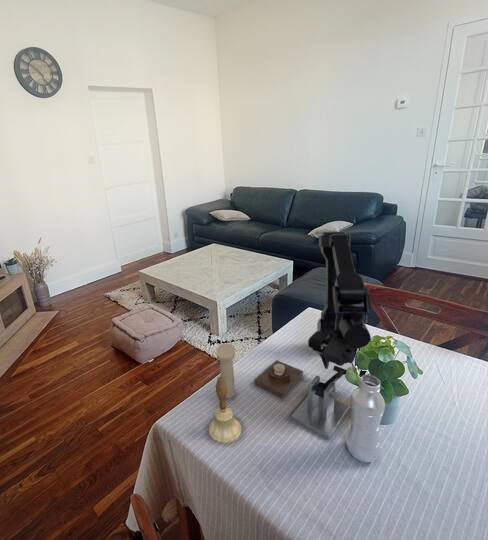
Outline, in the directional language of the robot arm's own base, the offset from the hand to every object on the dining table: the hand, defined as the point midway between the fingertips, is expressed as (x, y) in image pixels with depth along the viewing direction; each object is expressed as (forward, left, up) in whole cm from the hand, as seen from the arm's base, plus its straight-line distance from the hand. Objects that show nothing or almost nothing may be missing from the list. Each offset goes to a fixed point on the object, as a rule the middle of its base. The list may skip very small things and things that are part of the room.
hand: (342, 374), depth 94 cm
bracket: (+14, 0, -4) cm, 14 cm away
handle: (+23, -23, -4) cm, 33 cm away
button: (+9, -15, -1) cm, 17 cm away
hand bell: (+33, -16, -4) cm, 37 cm away
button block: (+9, -15, -4) cm, 18 cm away
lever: (+7, 0, +2) cm, 8 cm away
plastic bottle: (+19, +12, -4) cm, 23 cm away
